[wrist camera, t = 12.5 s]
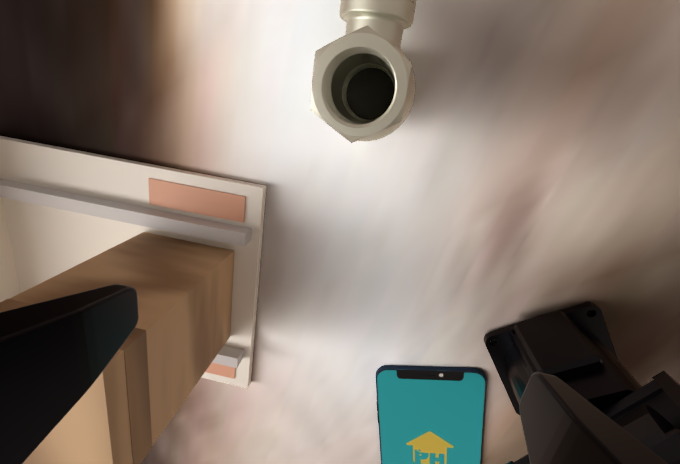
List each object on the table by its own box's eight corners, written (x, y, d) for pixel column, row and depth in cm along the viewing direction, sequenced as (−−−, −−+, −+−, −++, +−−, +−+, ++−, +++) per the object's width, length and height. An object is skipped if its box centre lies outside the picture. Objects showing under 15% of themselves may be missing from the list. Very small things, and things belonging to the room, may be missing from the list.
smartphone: (384, 520, 28) (374, 370, 23) (384, 509, 29) (374, 361, 24) (478, 528, 27) (488, 372, 22) (475, 516, 28) (485, 363, 23)
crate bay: (266, 185, 20) (212, 218, 14) (250, 382, 26) (206, 468, 20) (-14, 133, 22) (-173, 143, 16) (25, 329, 27) (-82, 394, 21)
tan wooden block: (234, 250, 21) (103, 369, 12) (230, 336, 24) (116, 496, 14) (143, 231, 22) (-57, 330, 12) (147, 318, 24) (-18, 460, 14)
